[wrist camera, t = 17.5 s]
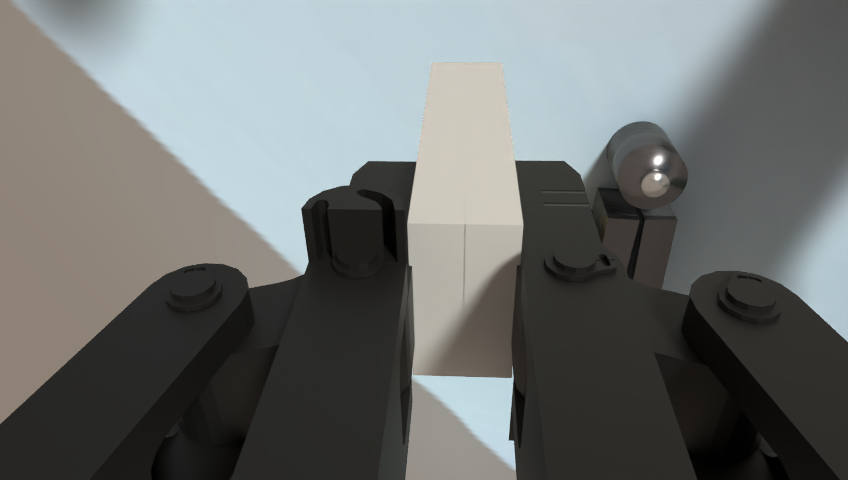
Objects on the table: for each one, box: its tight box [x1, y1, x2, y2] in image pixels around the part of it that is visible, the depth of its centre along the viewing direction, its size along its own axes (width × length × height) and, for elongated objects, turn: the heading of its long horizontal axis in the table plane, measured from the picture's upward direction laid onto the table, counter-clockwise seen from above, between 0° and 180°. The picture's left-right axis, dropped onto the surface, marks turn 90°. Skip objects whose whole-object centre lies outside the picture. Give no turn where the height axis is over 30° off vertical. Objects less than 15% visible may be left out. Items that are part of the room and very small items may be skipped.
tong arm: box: [592, 188, 640, 271], centre depth 48 cm, size 19×2×4 cm, turn 178°
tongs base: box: [607, 122, 688, 289], centre depth 46 cm, size 24×4×5 cm, turn 1°
